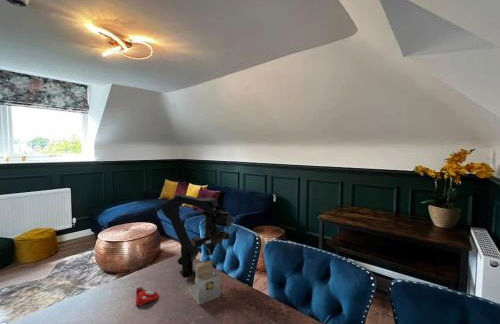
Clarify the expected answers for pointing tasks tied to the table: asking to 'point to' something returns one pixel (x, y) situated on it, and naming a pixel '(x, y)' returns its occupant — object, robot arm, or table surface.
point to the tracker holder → (145, 296)
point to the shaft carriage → (205, 272)
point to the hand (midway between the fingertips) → (211, 255)
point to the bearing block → (205, 288)
